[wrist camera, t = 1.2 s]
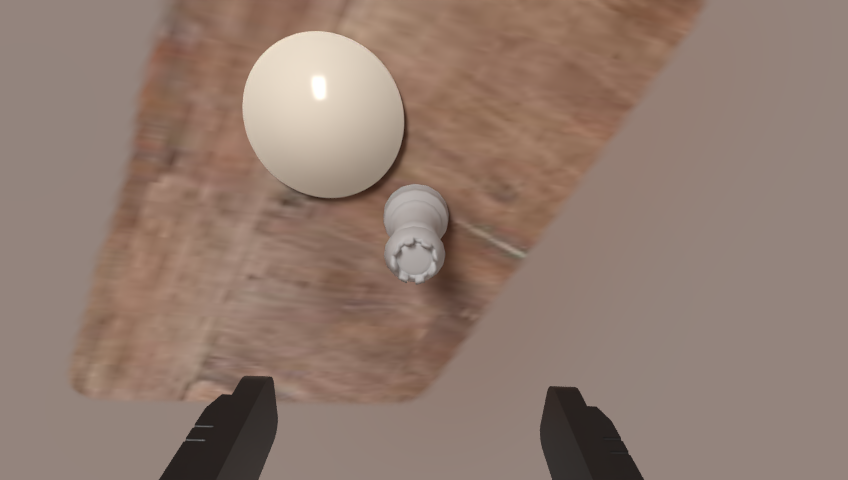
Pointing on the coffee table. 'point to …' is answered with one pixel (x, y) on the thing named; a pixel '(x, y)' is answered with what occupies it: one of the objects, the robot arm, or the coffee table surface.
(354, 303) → the coffee table surface
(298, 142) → the cream round disc
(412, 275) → the rook chess piece
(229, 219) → the coffee table surface
